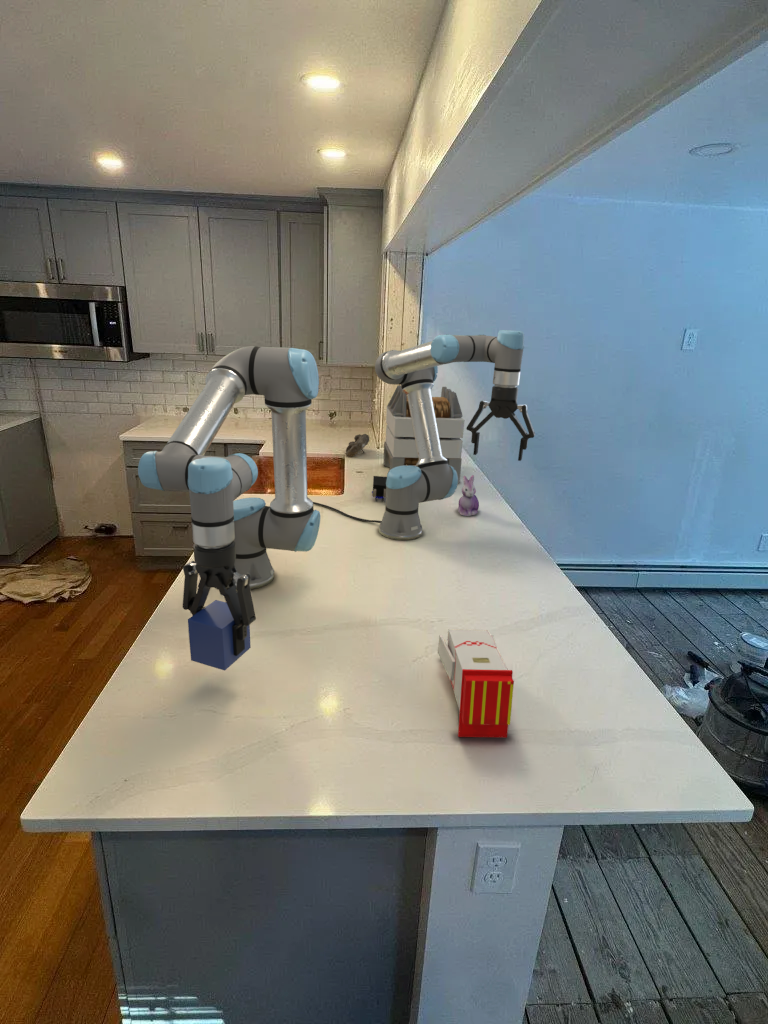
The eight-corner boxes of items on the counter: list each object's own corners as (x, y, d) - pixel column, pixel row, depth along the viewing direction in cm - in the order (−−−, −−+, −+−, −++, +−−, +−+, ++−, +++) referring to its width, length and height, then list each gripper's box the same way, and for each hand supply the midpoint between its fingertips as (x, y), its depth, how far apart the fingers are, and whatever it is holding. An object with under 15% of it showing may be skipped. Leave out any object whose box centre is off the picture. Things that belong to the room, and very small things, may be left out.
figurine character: (387, 506, 231) (387, 491, 244) (388, 489, 228) (388, 474, 241) (371, 505, 231) (371, 490, 244) (372, 488, 227) (372, 474, 241)
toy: (488, 613, 130) (523, 677, 101) (484, 667, 133) (517, 744, 104) (435, 612, 130) (455, 676, 101) (432, 666, 133) (451, 743, 103)
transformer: (382, 463, 289) (386, 382, 275) (445, 464, 293) (451, 384, 279) (390, 482, 257) (394, 392, 243) (460, 483, 261) (468, 394, 247)
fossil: (345, 440, 316) (366, 424, 311) (356, 453, 319) (377, 438, 314) (339, 453, 297) (361, 437, 292) (350, 467, 300) (373, 452, 295)
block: (224, 670, 109) (222, 628, 105) (190, 660, 111) (187, 619, 108) (250, 647, 116) (249, 608, 113) (218, 638, 119) (215, 599, 116)
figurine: (465, 518, 217) (469, 480, 212) (450, 509, 226) (454, 473, 221) (485, 515, 222) (489, 478, 217) (470, 507, 230) (473, 471, 225)
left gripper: (273, 544, 105) (276, 649, 113) (182, 525, 112) (190, 625, 120) (250, 559, 99) (254, 670, 106) (155, 538, 105) (165, 643, 113)
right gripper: (550, 388, 164) (540, 459, 172) (466, 381, 173) (460, 449, 180) (547, 391, 158) (537, 465, 165) (460, 383, 166) (454, 454, 173)
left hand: (220, 646), depth 113 cm, fingers closed on block, 8 cm apart
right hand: (497, 456), depth 172 cm, fingers open, 13 cm apart
